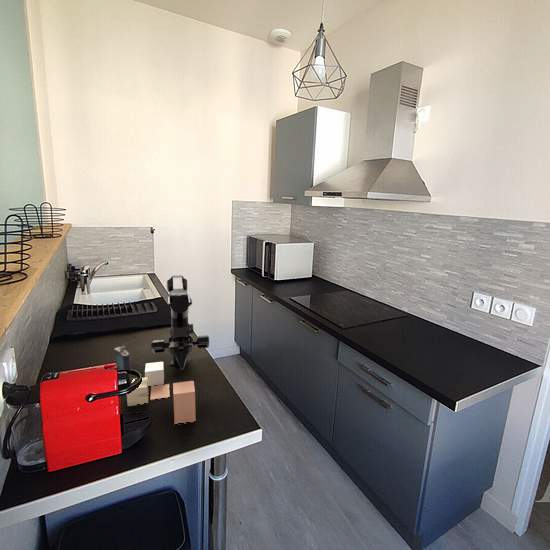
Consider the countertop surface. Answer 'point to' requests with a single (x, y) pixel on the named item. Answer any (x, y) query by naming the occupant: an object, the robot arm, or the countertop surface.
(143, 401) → the birch block
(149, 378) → the white block
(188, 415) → the terracotta block
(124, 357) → the flask
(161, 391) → the colour card
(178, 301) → the robot arm
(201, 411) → the countertop surface
